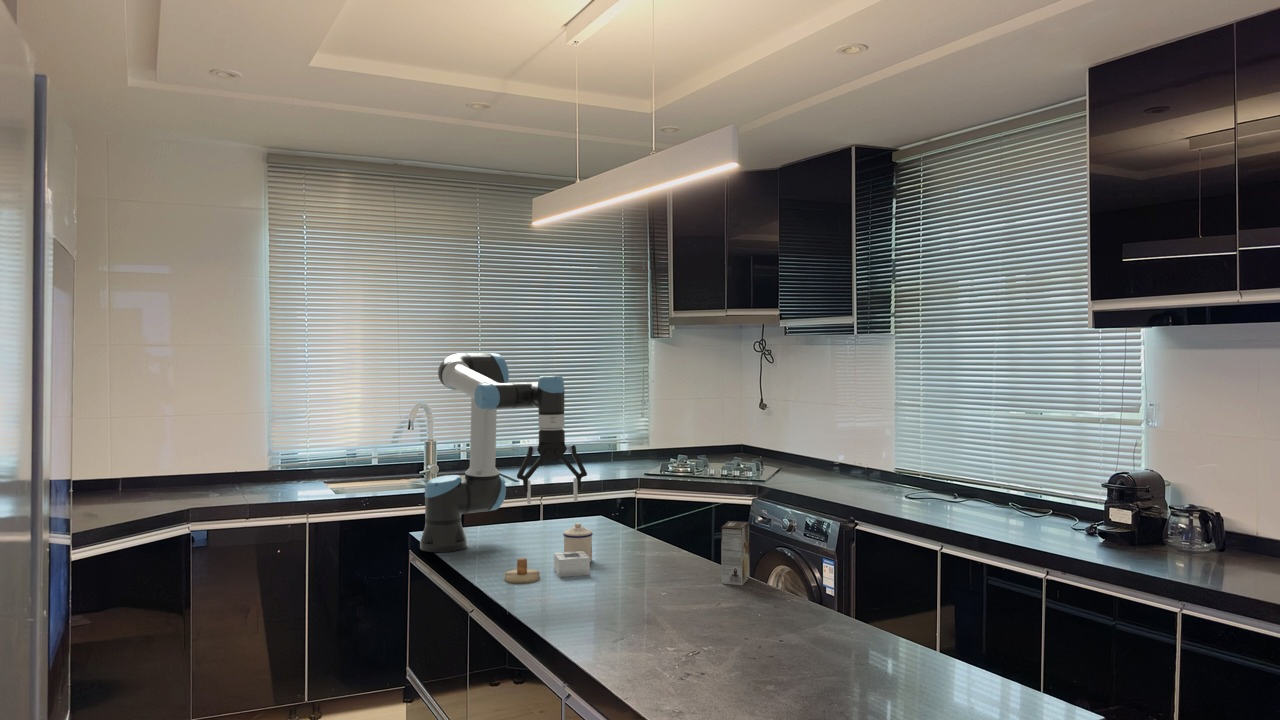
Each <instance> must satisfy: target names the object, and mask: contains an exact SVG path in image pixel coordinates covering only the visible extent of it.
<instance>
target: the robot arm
mask: <svg viewBox="0 0 1280 720" xmlns="http://www.w3.org/2000/svg"><path fill="white" fill-rule="evenodd" d="M508 367H509V366H508V364H507V362H506V360H505V357H503V356H502V355H501V354H498V353H492V352H479V353H478V352H476V353H475V352H471V353H470V352H469V353H468V352H467V353H462V352H461V353H454V354H451V355H449V356H447V357H446V358H444V359H443V360H442V361H441V363H440V365H439V366H438V370H437V375H438V379H439V381H440V383H441V384H442V385H443V386H445V387H446V388H447V389H449V390H452V391H460V392H462V393H463V394H465V395H468V396H469V397H470V398H471V400H470V438H469V439H470V440H469V441H470V445H469V447H470V448H469V467H468V469H467V470H466V471H465V472H464V478H461V475H458V474H450V475H441V476H438V477H434V478H431V479H429V480H428V481H427V482H426V484H425V488H424V490H425V491H424V509H425V512H424V513H425V514H424V515H425V516H424V517H425V520H424V521H425V523H424V529H423V532H422V534H421V538H420V541H419V549H420V551H422V552H427V553H450V552H456V551H459V550H464V549H465V548H467V541H468V540H467V537H466V533H465V531H464V528H463V525H462V515H464V514H473V513H481V512H482V513H483V512H484V513H486V512H487V513H488V512H490V511H496V510H498V509H500V508H501V506H502V505H503V503H504V502H505V498H506V493H507V486H506V480H505V479H504V477H503V476H502V475H500V472H501V471H499V470H498V469H497V467H496V459H497V458H496V453H497V451H496V450H497V417H498V416H497V414H498V413H497V411H498V410H502V409H504V410H505V409H523V408H524V409H527V408H538V428H539V430H538V445H537V446H532V445H528V446H527V454H526V456H525V458H524V460H523V462H522V464H521V465H520V467H519V470H518V471H517V474H516V478H517V479H518V480H521V481H522V482H523V483H522V487H523V492H524V493H526V503H527V504H528V505H531V504H532V499H531V498H532V496H531V492H532V490H531V489H532V487H531V485H532V484H531V480H530V477H532V475H533V474H534V473H535V472H536V471H537V470H538V468H539V466H541V464H542V463H543V462H544V461H545V462H552V461H553V462H558V461H561V462H562V463H563V464H564V465H565V466H566V467H567V468H568V470H569V471H571V473H572V474H573V475H574V476H575V477H572V478H573V482H572V483H573V487H572V489H573V501H574V502H575V503H577V502H578V496H579V495H578V491H579V490H581V489H582V478H584V477H587V476H588V473H587V470H586V468H585V467H584V465H583V463H582V461H581V459H580V457H579V455H578V452H577V448H576V445H575V444H573V443H572V444H571V445H566V444H565V443H566V438H565V437H566V435H565V434H566V433H565V430H564V429H563V428H565V427H566V426H565V390H566V389H565V380H564V378H563V376H561V375H540V376H539V377H538V380H537V381H527V382H525V381H524V382H509V378H510V377H509V376H510V371H509V368H508ZM566 451H568V453H570V454H571V456H572V457H573V460H574V461H575V463H576V465H577V468H578V469H579V471H580V472H578V470H577V469H575V467H574V466H573V465H572V464H571V462H570V461H569V460H568V459H567V458H566V457H565V455H564V454H565V453H566ZM536 452H537V453H538V454H539V456H538V457H537V459H536V461H535V462H534V463H533V465H531V466H530V468H529V469H528V470H527V471H526V469H527V467H528V465H529V463H530V461H531V460H532V457H533V455H535V454H536ZM525 472H526V473H525Z"/></svg>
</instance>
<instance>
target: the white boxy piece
mask: <svg viewBox="0 0 1280 720" xmlns="http://www.w3.org/2000/svg"><path fill="white" fill-rule="evenodd" d="M590 563H591V562H590V558H589V556H588V555H587V554H586V553H585V552H584V551H574V552H564V551H561V552H559V551H558V552H553V570H554V572H555V573H556V575H557V577H559V578H565V577H566V578H567V577H579V576H590V575H591V570H590V569H591V566H590V565H591V564H590Z"/></svg>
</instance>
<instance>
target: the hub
mask: <svg viewBox="0 0 1280 720" xmlns="http://www.w3.org/2000/svg"><path fill="white" fill-rule="evenodd" d="M516 566H517V567H516V569H511V570H508V571H506V572H505V573H504V581H505V582H507V583H510V584H511V583H512V584H529V583H530V584H531V583H534V582H537V581H538V580H540V577H541V574H540V573H541V572H540V571H539V570H537V569H532V568H528V559H527V558H525V557H524V558H523V557H521V558H520V557H519V558H517V559H516Z"/></svg>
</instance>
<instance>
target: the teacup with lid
mask: <svg viewBox="0 0 1280 720" xmlns="http://www.w3.org/2000/svg"><path fill="white" fill-rule="evenodd" d="M562 536H563V552H574V551H584V552H585V553H586V554H587V555H588V556H589V558H590V563H591V562H592V561H593V542H592V541H593V531H592V530H591V529H588V528H586V527H585V526H582V524H581V523H579V522H577V523H574V526H572V527H571V528H569V529H566V530H564V531H563V535H562Z"/></svg>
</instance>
